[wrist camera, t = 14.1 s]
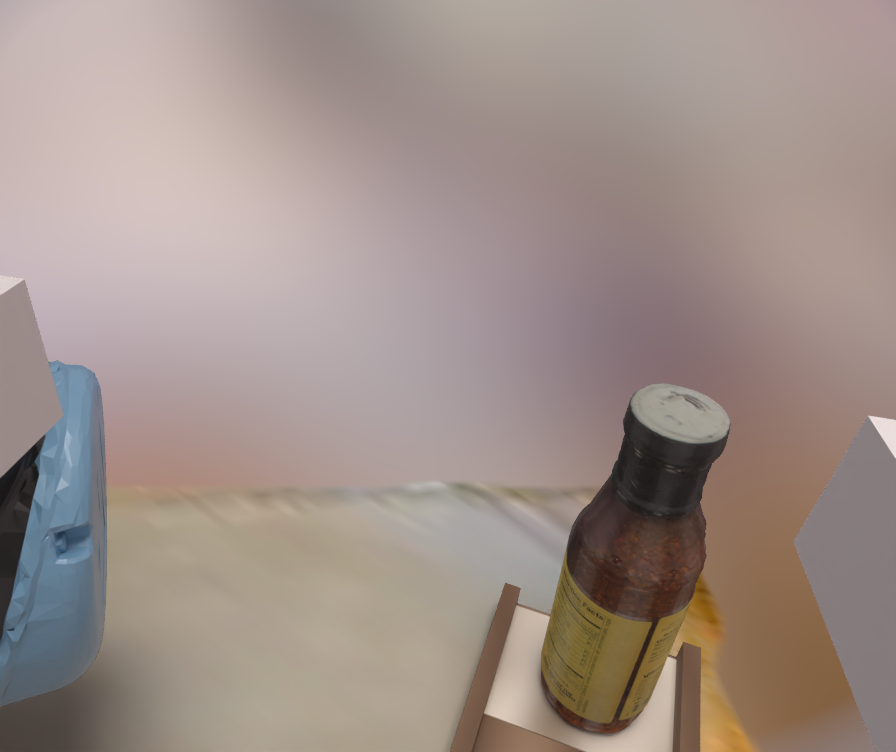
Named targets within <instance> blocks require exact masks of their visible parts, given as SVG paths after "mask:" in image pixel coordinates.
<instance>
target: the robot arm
mask: <svg viewBox="0 0 896 752" xmlns="http://www.w3.org/2000/svg"><path fill="white" fill-rule="evenodd" d="M104 437H105V436H104V421H103V407H102V397H101V390H100V385H99V383H98V380H97V378H96V376H95V373H93V372H92V371H91V370H89V369H87V368H86V367H84V366H80V365H65V364H63V363H61V362H60V361H54V362H48V359H47V356H46V352H45V349H44V346H43V342H42V339H41V335H40V331H39V328H38V325H37V321H36V318H35V314H34V311H33V307H32V304H31V300H30V297H29V293H28V290H27V287H26V283H25V280H24V279H19V278H12V277H6V276H1V275H0V707H1V706H4V705H7V704H11V703H14V702H17V701H21V700H24V699H27V698H31V697H34V696H37V695H41V694H44V693H47V692H51V691H54V690H58V689H60V688H63V687H65V686H67V685H69V684H70V683H72V682H74V681H75V680H77V679H78V678H79V677H80V676H82V675H83V674H84V673H85V672H86V671H87V669H88V668H89V667H90V666H91V664H92V663H93V661H94V660H95V658H96V656H97V654H98V652H99V649H100V646H101V642H102V638H103V631H104V620H105V605H106V576H107V497H106V462H105V438H104ZM794 544H795V546H796V549H797V552H798V554H799V557H800V559H801V562H802V565H803V567H804V570H805V572H806V575H807V577H808V580H809V583H810V585H811V588H812V590H813V593H814V595H815V598H816V600H817V603H818V605H819V608H820V611H821V613H822V616H823V618H824V621H825V624H826V626H827V629H828V631H829V634H830V636H831V639H832V642H833V644H834V647H835V649H836V652H837V654H838V657H839V660H840V662H841V665H842V667H843V670H844V672H845V675H846V677H847V680H848V683H849V685H850V688H851V690H852V693H853V695H854V698H855V701H856V703H857V706H858V708H859V711H860V713H861V716H862V719H863V721H864V724H865V726H866V729H867V731H868V734H869V736H870V739H871V741H872V744H873V747H874V749H875V752H896V420H892V419H885V418H879V417H873V416H868V417H867V418H866V420H865V422H864V423H863V425H862V427H861V428H860V430H859V432H858V433H857V435H856V437H855V438H854V440H853V442H852V444H851V445H850V447H849V448H848V450H847V452H846V454H845V455H844V457H843V459H842V460H841V462H840V464H839V465H838V467H837V469H836V470H835V472H834V474H833V476H832V477H831V479H830V481H829V482H828V484H827V486H826V488H825V489H824V491H823V493H822V494H821V496H820V497H819V499H818V501H817V502H816V504H815V506H814V508H813V509H812V511H811V513H810V514H809V516H808V518H807V520H806V521H805V523H804V524H803V526H802V528H801V530H800V531H799V533H798V535H797V536H796V538H795V540H794Z"/></svg>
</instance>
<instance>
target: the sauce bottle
mask: <svg viewBox="0 0 896 752" xmlns="http://www.w3.org/2000/svg"><path fill="white" fill-rule="evenodd" d="M623 425H624V432H625V435H624V438H623V442H622V446H621V450H620V453H619V457H618V460H617V461H616V462H615V464H614V467H613V470H612V474H611V476H610V477H609V478H608V480H607V481H606V482H605V484H604V485H603V487H602V488H601V489H600V491H599V492H598V493H597V495H596V496H595V497H594V499H593V500H592V501H591V503H590V504H588V505H587V506H586V507H585V508H584V509H583V510H582V511H581V512H580V514H579V515H578V517H577V519H576V520H575V522H574V524H573V526H572V529H571V532H570V535H569V539H568V544H567V548H566V552H565V557H564V561H563V565H562V570H561V574H560V578H559V582H558V586H557V590H556V595H555V599H554V603H553V607H552V611H551V615H550V619H549V623H548V627H547V631H546V635H545V639H544V643H543V647H542V652H541V683H542V686H543V688H544V690H545V692H546V694H547V697H548V698H549V700H550V702H551V703H552V704H553V706H554V707H555V709H556V710H557V712H558V713H560V714H561V716H562V717H563V718H564V719H565V720H566V721H568V722H569V723H570V724H572V725H575V726H577V727H580V728H582V729H584V730H589V731H594V732H603V733H614V732H618V731H621V730H623V729H625V728H626V727H628V726H630V725H631V723H632V722H633V721H634V720H635V719H636V718H637V717H638V716H639V715H640V713H641V712H642V711H643V710H644V708H645V707H646V706H647V704H648V702H649V701H650V698H651V696H652V694H653V691H654V689H655V686H656V684H657V682H658V679H659V677H660V675H661V672H662V670H663V667H664V665H665V662H666V660H667V657H668V655H669V653H670V650H671V648H672V645H673V643H674V641H675V638H676V636H677V633H678V631H679V629H680V626H681V624H682V622H683V620H684V617H685V615H686V612H687V610H688V608H689V605H690V603H691V600H692V598H693V596H694V592H695V587H696V582H697V579H698V577H699V575H700V573H701V571H702V570H703V567H704V562H705V559H706V553H705V550H706V545H705V541H704V538H705V535H706V533H705V530H706V520H705V518H704V515H703V512H702V509H701V505H700V500H701V499H702V491H703V486H704V484H705V481H706V478H707V474H708V472H709V469H710V468H711V465H712V463H713V462H714V461H715V460H716V459H717V458H718V457H719V456H720V455H721V454H722V452H723V450H724V448H725V445H726V442H727V438H728V434H729V431H730V420H729V417H728V416H727V414H726V412H725V410H724V409H723V408H722V407H721V406H720V405H718V403H716V402H715V401H713V400H712V399H711V398H709V397H708V396H706V395H703V394H701V393H699V392H697V391H694V390H691V389H687V388H683V387H680V386H677V385H669V384H654V385H649V386H647V387H644V388H642V389H641V390H638V391H637V392H635V393H634V395H633V396H632V398H631V400H630V403H629V406H628V408H627V411H626V414H625V417H624V420H623Z"/></svg>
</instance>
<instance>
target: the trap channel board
mask: <svg viewBox="0 0 896 752" xmlns="http://www.w3.org/2000/svg"><path fill="white" fill-rule="evenodd" d="M520 589H521V588H519V587H516V586H513V585H510V584H507V583H505V585H504V588H503V591H502V594H501V597H500V600H499V604H498V607H497V610H496V613H495V616H494V619H493V622H492V625H491V628H490V631H489V634H488V637H487V640H486V643H485V646H484V649H483V652H482V656H481V659H480V662H479V665H478V668H477V671H476V674H475V677H474V680H473V683H472V686H471V689H470V692H469V695H468V698H467V701H466V704H465V708H464V711H463V714H462V717H461V720H460V723H459V726H458V729H457V732H456V735H455V738H454V741H453V744H452V747H451V750H450V752H700V682H701V648H700V647H697V646H694V645H691V644H688V643H685V642H683V644H682V646H681V648H680V650H679V652H678V655H677V657H674V656H672V655H668V657H667V660H666V662H665V665H664V667H663V670H662V672H661V675H660V677H659V679H658V682H657V684H656V686H655V689H654V691H653V694H652V696H651V698H650V701H649V702H648V704H647V706H646V707H645V708H644V710H643V711H642V712H641V713H640V715H639V716H638V717H637V718H636V719H635V720H634V721H633V722H632V723H631V725H630V726H628V727H626V728H625V729H623V730H621V731H618V732H614V733H603V732H594V731H589V730H584V729H582V728H580V727H577V726H575V725H572V724H570V723H569V722H568V721H566V720H565V719H564V718H563V717H562V716H561V714H560V713H558V712H557V710H556V709H555V707H554V706H553V704H552V703H551V702H550V700H549V698H548V697H547V694H546V692H545V690H544V688H543V686H542V683H541V652H542V647H543V643H544V639H545V635H546V631H547V627H548V623H549V619H550V614H547V613H544V612H541V611H538V610H535V609H532V608H529V607H526V606H523V605H521V604H518V603H517V601H518V597H519V593H520Z"/></svg>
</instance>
